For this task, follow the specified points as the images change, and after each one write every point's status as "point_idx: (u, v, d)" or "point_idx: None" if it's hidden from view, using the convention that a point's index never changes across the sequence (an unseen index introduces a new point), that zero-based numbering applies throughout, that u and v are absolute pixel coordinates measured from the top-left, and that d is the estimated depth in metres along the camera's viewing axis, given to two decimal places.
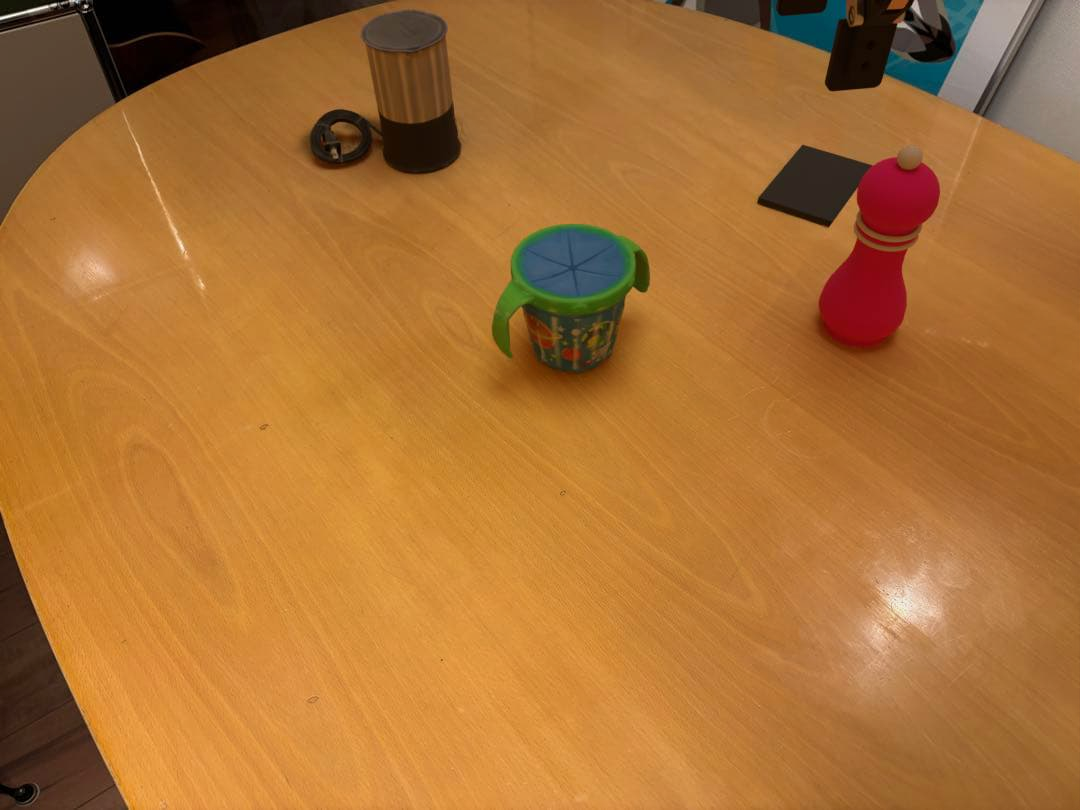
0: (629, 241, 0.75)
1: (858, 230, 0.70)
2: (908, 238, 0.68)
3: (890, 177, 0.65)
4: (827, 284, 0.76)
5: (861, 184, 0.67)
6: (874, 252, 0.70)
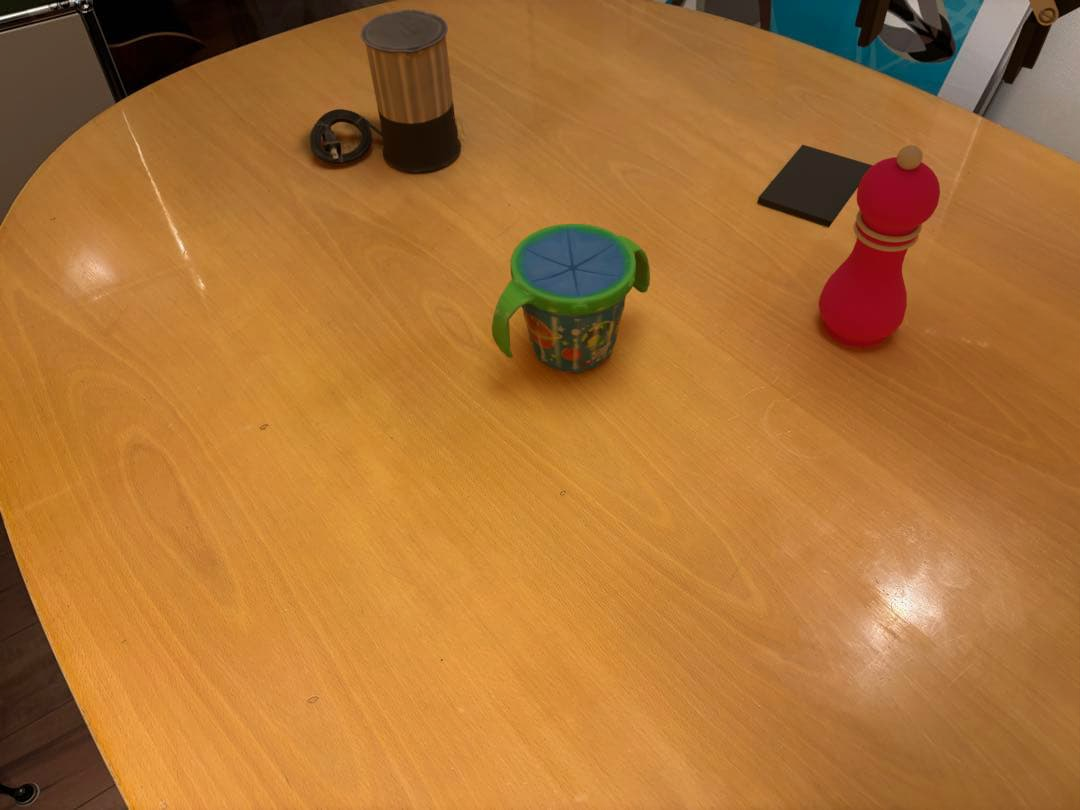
0: (629, 241, 0.75)
1: (858, 230, 0.70)
2: (908, 238, 0.68)
3: (890, 177, 0.65)
4: (827, 284, 0.76)
5: (861, 184, 0.67)
6: (874, 252, 0.70)
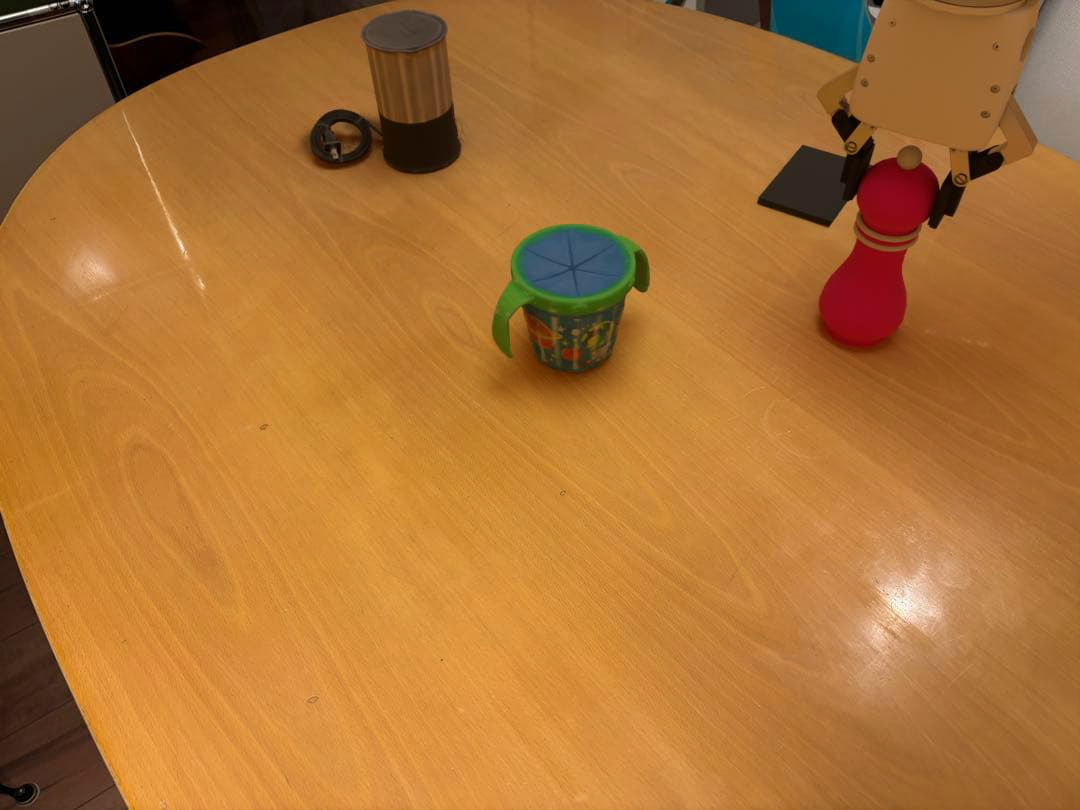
0: (629, 241, 0.75)
1: (858, 230, 0.70)
2: (908, 238, 0.68)
3: (889, 177, 0.65)
4: (827, 284, 0.76)
5: (861, 184, 0.67)
6: (874, 252, 0.70)
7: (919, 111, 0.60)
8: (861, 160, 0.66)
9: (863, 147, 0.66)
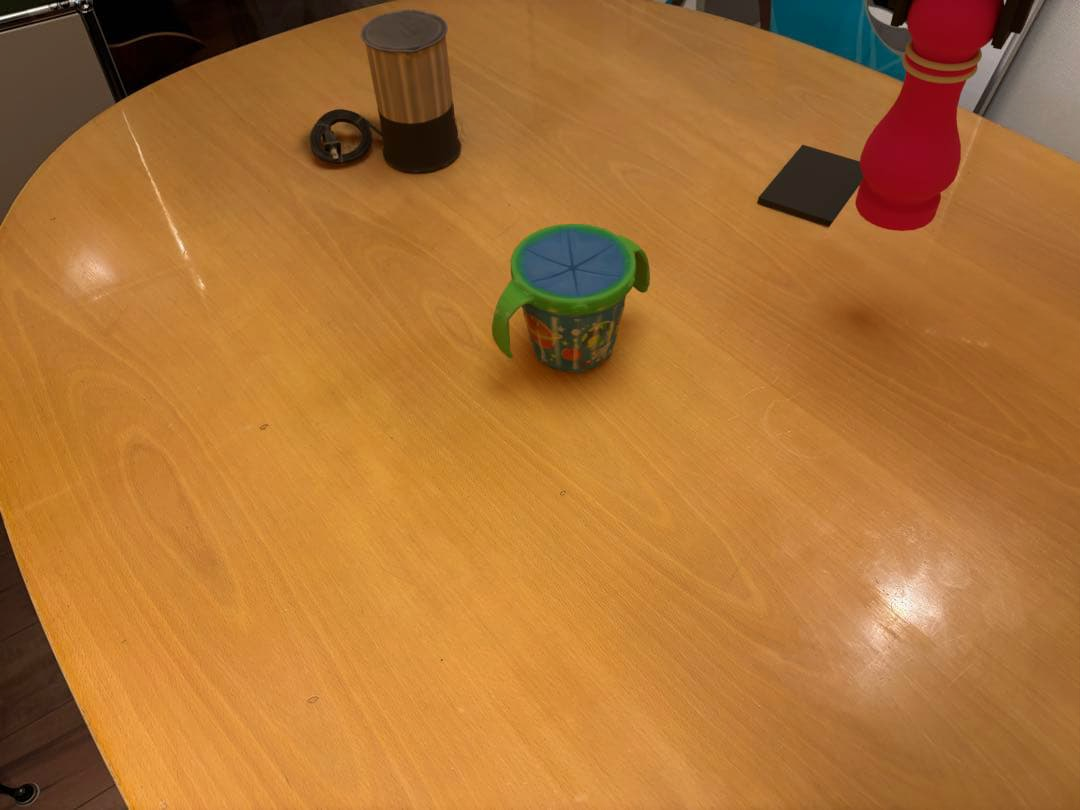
0: (629, 241, 0.75)
1: (908, 62, 0.61)
2: (967, 65, 0.59)
3: None
4: (870, 138, 0.67)
5: (913, 3, 0.59)
6: (927, 87, 0.61)
7: None
8: None
9: None
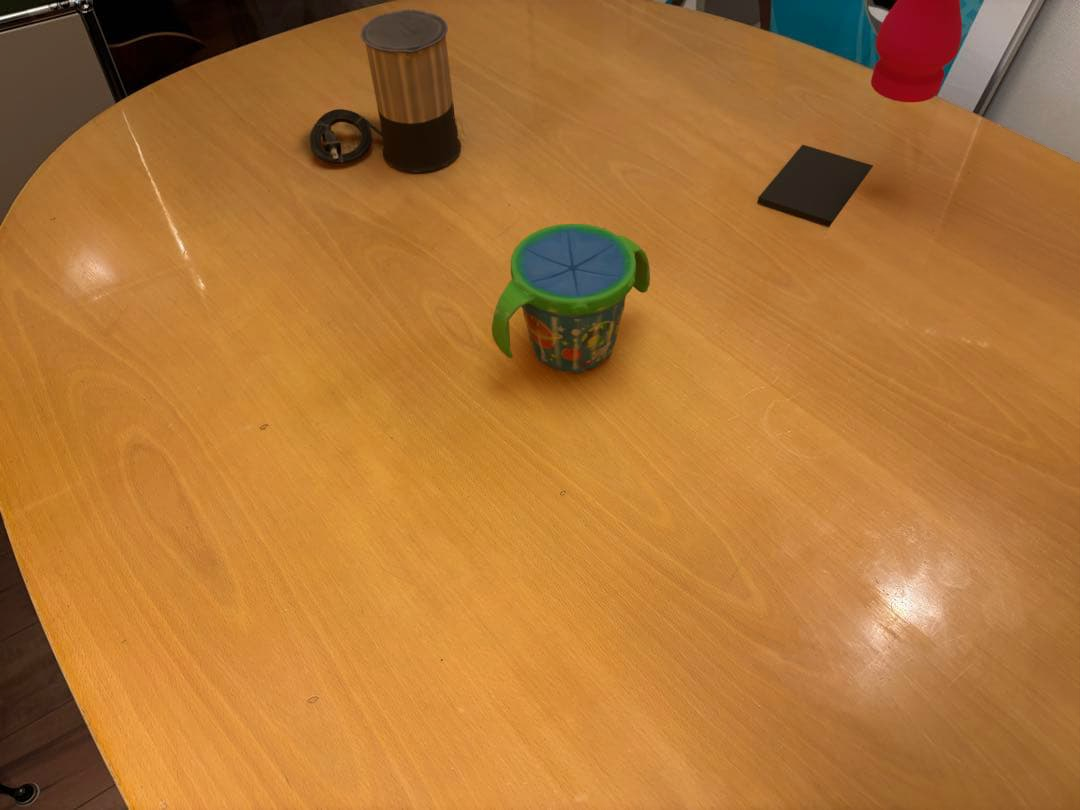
0: (629, 241, 0.75)
1: None
2: None
3: None
4: None
5: None
6: None
7: None
8: None
9: None
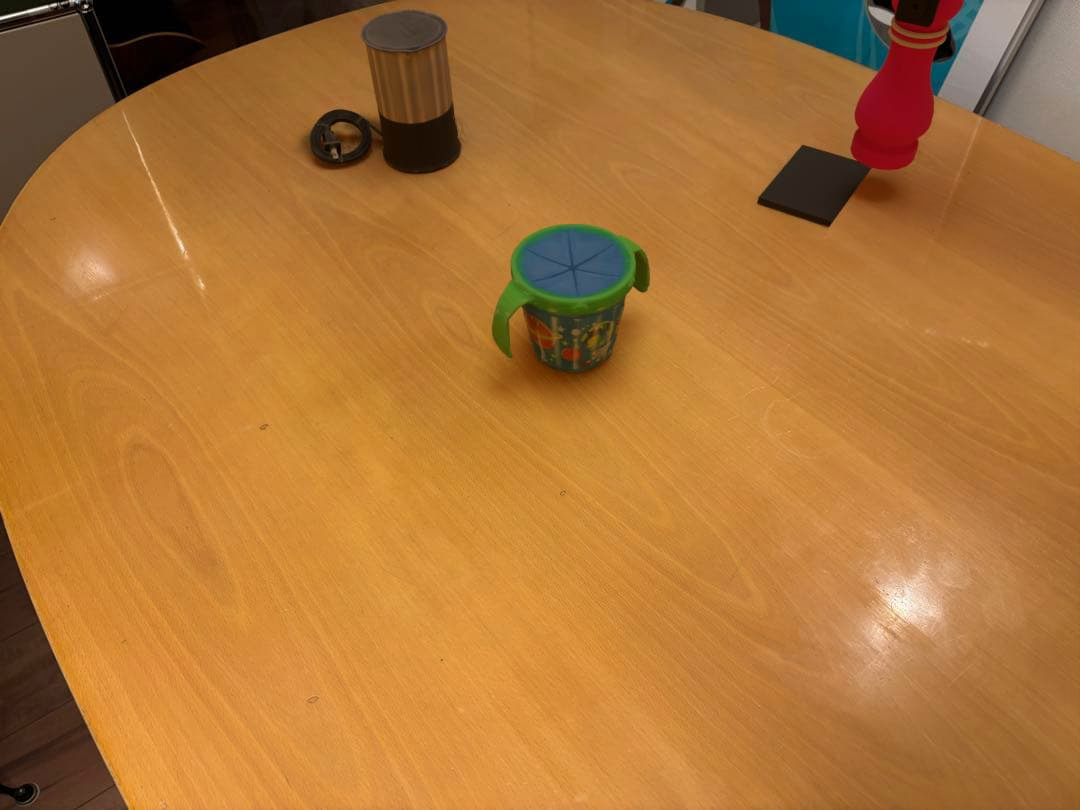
0: (629, 241, 0.75)
1: None
2: (897, 28, 0.78)
3: None
4: None
5: None
6: None
7: None
8: None
9: None
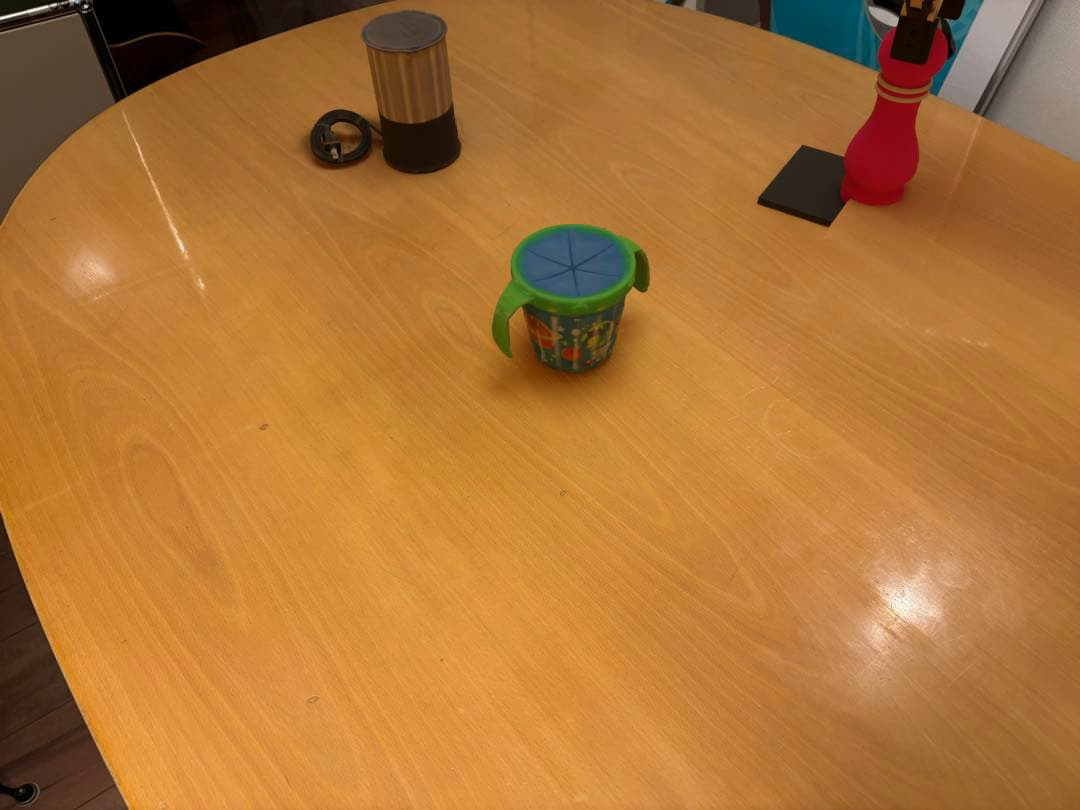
0: (629, 241, 0.75)
1: None
2: (882, 83, 0.82)
3: None
4: None
5: None
6: None
7: None
8: None
9: None
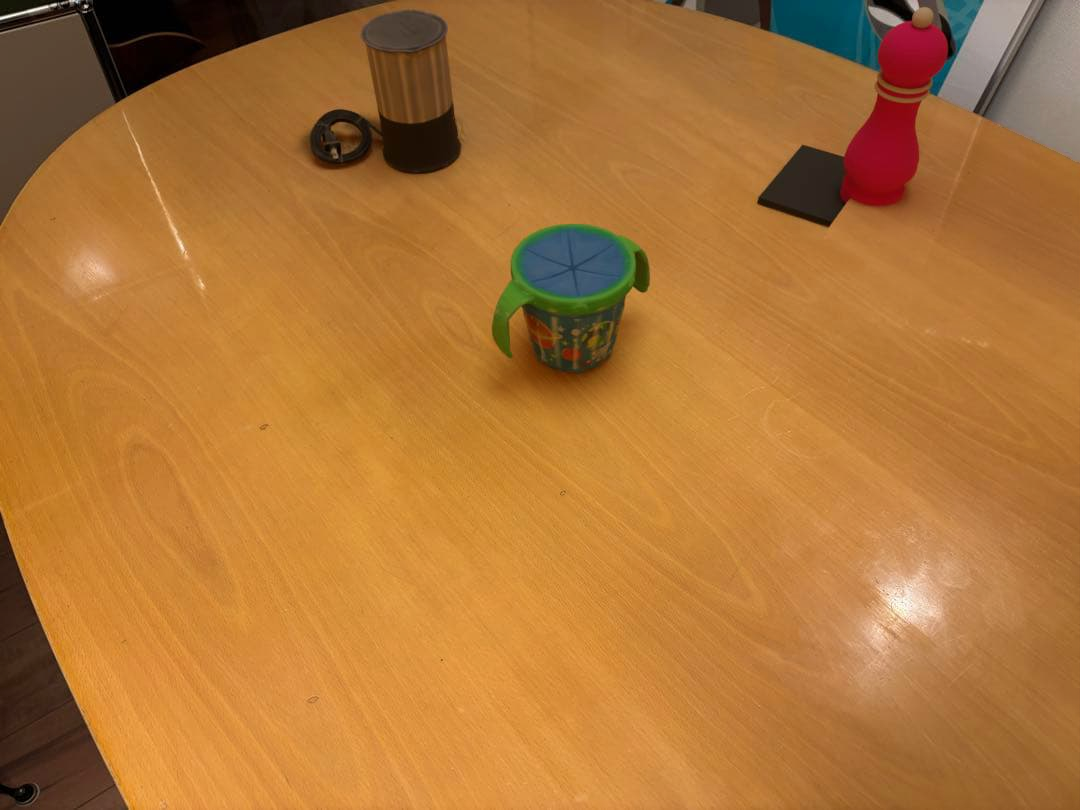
0: (629, 241, 0.75)
1: None
2: (882, 83, 0.82)
3: (904, 22, 0.80)
4: None
5: None
6: None
7: None
8: None
9: None
